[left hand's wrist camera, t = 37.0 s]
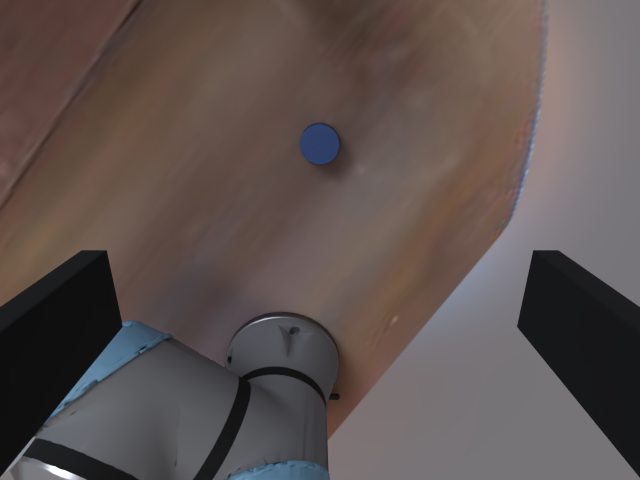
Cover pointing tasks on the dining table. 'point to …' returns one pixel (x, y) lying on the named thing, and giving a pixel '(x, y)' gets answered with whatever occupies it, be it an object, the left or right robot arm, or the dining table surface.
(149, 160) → the dining table surface
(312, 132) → the cap
